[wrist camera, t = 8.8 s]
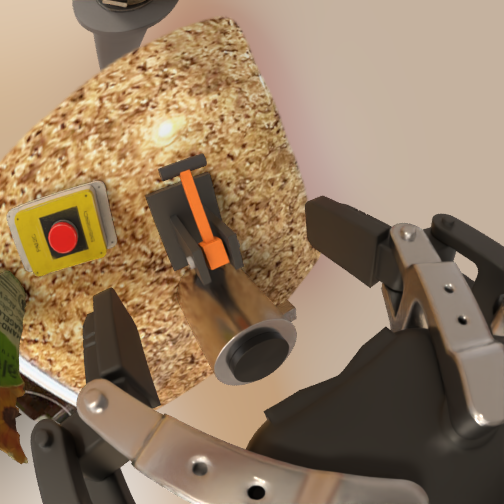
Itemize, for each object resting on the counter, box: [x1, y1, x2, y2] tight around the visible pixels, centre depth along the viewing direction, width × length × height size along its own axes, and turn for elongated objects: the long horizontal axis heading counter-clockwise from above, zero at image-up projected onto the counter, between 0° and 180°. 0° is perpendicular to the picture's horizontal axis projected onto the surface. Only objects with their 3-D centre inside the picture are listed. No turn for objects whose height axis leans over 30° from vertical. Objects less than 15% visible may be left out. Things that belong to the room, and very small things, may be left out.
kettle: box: [177, 262, 297, 385], centre depth 40 cm, size 14×14×17 cm
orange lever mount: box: [145, 172, 244, 285], centre depth 33 cm, size 12×9×12 cm
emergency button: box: [7, 181, 117, 276], centre depth 27 cm, size 9×4×15 cm
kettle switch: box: [158, 153, 229, 270], centre depth 29 cm, size 12×5×2 cm, turn 12°
